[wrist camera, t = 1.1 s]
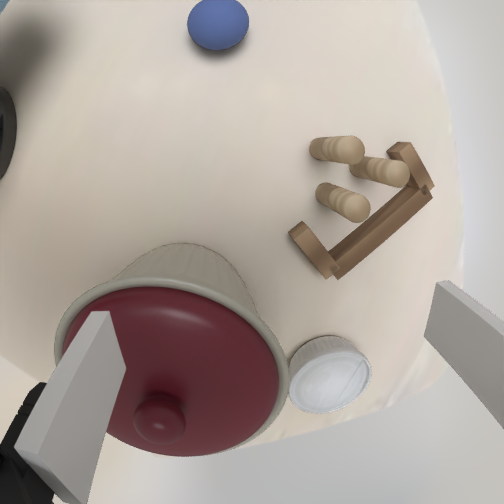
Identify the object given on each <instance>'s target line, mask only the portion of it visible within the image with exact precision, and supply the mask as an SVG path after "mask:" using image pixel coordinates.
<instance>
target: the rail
mask: <svg viewBox="0 0 504 504" xmlns="http://www.w3.org/2000/svg"><path fill="white" fill-rule="evenodd" d="M386 152H387V153H388V155H389V156H390V158H391V160H398V161H403V162H404V163H405V164H406V165H407V166H408V168H409V171H410V178H409V181H408V183H407V184H406V185H407V186H406V187H404V188H403V189H402V190H401V191H400V192H399V193H398V194H396V195H395V196H394V197H393V198H392V199H391V200H389V201H388V202H387V203H386V204H385V205H384V206H383V207H381V208H380V209H379V210H378V211H377V212H376V213H374V214H373V215H372V216H371V217H370V218H369V219H367V220H366V221H365V222H364V223H363V224H361V225H360V226H359V227H358V228H357V229H355V230H354V231H353V232H352V233H351V234H349V235H348V236H347V237H346V238H345V239H343V240H342V241H341V242H340V243H339V244H337V245H336V246H335V247H334V248H333V249H331V250H330V251H329V252H328V251H327V250H326V249H325V248H324V246H323V245H322V244H321V242H320V241H319V240H318V238H317V237H316V236H315V235H314V233H313V232H312V231H311V229H310V228H309V227H308V226H307V225H306V224H305V223H304V222H303V221H301V222H300V223H299V224H297V225H296V226H295V227H294V228H292V229H291V230H290V231H289V232H288V233H289V234H290V235H291V237H292V238H293V239H294V241H295V242H296V243H297V244H298V246H299V247H300V248H301V249H302V251H303V252H304V253H305V254H306V255H307V257H308V258H309V259H310V260H311V262H312V263H313V264H314V265H315V267H316V268H317V269H318V270H319V272H320V273H321V274H322V275H323V277H324V278H325V279H328V278H329V277H330V276H331V275H334V276H335V277H336V279H337V280H339V279H340V278H341V277H342V276H344V275H345V274H346V273H347V272H349V271H350V270H351V269H352V268H353V267H355V266H356V265H357V264H358V263H359V262H361V261H362V260H363V259H364V258H365V257H367V256H368V255H369V254H370V253H371V252H373V251H374V250H375V249H376V248H377V247H378V246H380V245H381V244H382V243H383V242H384V241H385V240H387V239H388V238H389V237H390V236H391V235H392V234H393V233H395V232H396V231H397V230H398V229H399V228H400V227H401V226H402V225H404V224H405V223H406V222H407V221H408V220H409V219H410V218H411V217H412V216H414V215H415V214H416V213H417V212H418V211H419V210H420V209H421V208H422V207H423V206H425V205H426V204H427V203H428V202H429V201H430V200H431V199H432V198H433V197H432V195H431V193H430V190H431V189H432V188H433V187H434V186H435V185H434V184H433V182H432V180H431V178H430V176H429V174H428V172H427V170H426V168H425V166H424V165H423V163H422V161H421V159H420V157H419V156H418V154H417V152H416V150H415V149H414V147H413V145H412V144H411V142H397V143H396V144H395V145H393V146H392V147H391V148H390V149H389V150H387V151H386Z"/></svg>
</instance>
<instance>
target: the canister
mask: <svg viewBox="0 0 504 504" xmlns="http://www.w3.org/2000/svg"><path fill="white" fill-rule="evenodd" d="M91 311H109V312H110V315H111V319H112V323H113V326H114V330H115V334H116V337H117V340H118V344H119V347H120V350H121V354H122V357H123V360H124V363H125V366H126V371H125V374H124V377H123V380H122V383H121V386H120V389H119V392H118V395H117V398H116V401H115V404H114V407H113V411H112V414H111V417H110V420H109V424H108V427H107V430H106V432H107V433H108V434H110V435H112V436H113V437H115V438H117V439H119V440H120V441H122V442H125V443H126V444H129V445H131V446H133V447H136V448H139V449H142V450H145V451H148V452H152V453H156V454H162V455H168V456H181V457H189V456H204V455H211V454H216V453H221V452H225V451H228V450H231V449H234V448H236V447H239V446H241V445H243V444H245V443H247V442H249V441H251V440H252V439H254V438H256V437H257V436H258V435H260V434H261V433H262V432H264V431H265V430H266V429H267V428H268V427H269V426H270V425H271V424H272V423H273V422H274V420H275V419H276V418H277V416H278V415H279V413H280V412H281V410H282V408H283V406H284V404H285V401H286V398H287V395H288V390H289V370H288V364H287V360H286V357H285V354H284V352H283V349H282V347H281V345H280V343H279V342H278V340H277V338H276V337H275V335H274V334H273V333H272V331H271V330H270V329H269V327H268V326H267V325H266V324H265V323H264V322H263V321H262V320H261V319H260V317H259V315H258V313H257V310H256V308H255V306H254V303H253V301H252V299H251V297H250V295H249V293H248V291H247V289H246V287H245V285H244V283H243V281H242V280H241V278H240V276H239V274H238V273H237V271H236V270H235V269H233V268H232V266H231V264H230V263H229V262H227V261H226V260H225V259H224V258H223V257H222V256H219V255H218V254H216V253H215V252H214V251H211V250H208V249H206V248H205V247H200V246H197V245H195V244H186V243H182V244H175V243H174V244H171V245H164V246H162V247H160V248H157V249H153V250H151V251H150V252H149V253H147V254H144V255H143V256H141V257H140V258H139V259H137V260H136V261H134V262H133V263H132V264H130V265H129V266H128V267H127V268H125V269H124V270H123V271H122V272H121V273H120V274H118V275H117V276H116V277H115V278H114V279H112V280H111V281H108V282H105V283H103V284H100V285H98V286H96V287H94V288H92V289H90V290H89V291H87V292H85V293H84V294H83V295H81V296H80V297H79V298H78V299H77V300H75V301H74V302H73V304H72V305H71V306H70V307H69V308H68V310H67V311H66V312H65V314H64V315H63V317H62V319H61V321H60V323H59V326H58V328H57V332H56V336H55V343H54V355H55V362H56V367H57V365H58V364H59V362H60V360H61V359H62V357H63V355H64V354H65V352H66V351H67V349H68V347H69V346H70V344H71V342H72V341H73V339H74V338H75V336H76V335H77V333H78V331H79V330H80V328H81V327H82V325H83V324H84V322H85V321H86V319H87V318H88V316H89V314H90V313H91Z"/></svg>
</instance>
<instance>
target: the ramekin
mask: <svg viewBox="0 0 504 504" xmlns="http://www.w3.org/2000/svg"><path fill="white" fill-rule="evenodd" d="M371 375H372V369H371V365H370V363H369V361H368V359H367V358H366V357H365V356H364V355H363V354H362V353H361V352H359V351H358V350H357V349H356V348H355V347H354V346H353V345H352V344H351V343H350V342H349V341H347V340H345V339H343V338H340V337H336V336H325V337H320V338H316V339H314V340H311V341H309V342H308V343H306V344H304V345H303V346H302V347H301V348H300V349H298V351H297V352H296V353H295V354H294V356H293V357H292V359H291V361H290V364H289V390H288V393H289V397H290V399H291V401H292V403H293V404H294V405H295V406H296V407H297V408H299V409H300V410H302V411H305V412H309V413H316V414H323V413H329V412H333V411H336V410H339V409H342V408H344V407H346V406H347V405H349V404H351V403H352V402H354V401H355V400H356V399H357V398H358V397H359V396H360V395H361V394H362V393H363V392H364V391H365V389H366V388H367V386H368V384H369V382H370V379H371Z"/></svg>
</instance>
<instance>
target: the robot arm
mask: <svg viewBox="0 0 504 504" xmlns="http://www.w3.org/2000/svg"><path fill="white" fill-rule="evenodd" d="M9 1H10V0H0V14H1V12H2V11H3V9H4V8H5V6H6V5H7V3H8V2H9ZM15 137H16V115H15V109H14V105H13V102H12V100H11V97H10V95H9V94H8V92H7V91H6V90H5V89H4V88H3V87H2V86H0V179H1V178H2V176H3V175H4V173H5V171H6V169H7V167H8V165H9V162H10V159H11V156H12V153H13V149H14V144H15ZM424 337H425V338H426V339H427V340H428V341H429V343H430V344H431V345H432V346H433V347H434V348H435V349H436V350H437V351H438V352H439V354H440V355H441V356H442V357H443V358H444V359H445V360H446V361H447V362H448V364H449V365H450V366H451V367H452V368H453V369H454V370H455V371H456V373H457V374H458V375H459V376H460V377H461V378H462V379H463V381H464V382H465V383H466V384H467V385H468V386H469V388H470V389H471V390H472V391H473V392H474V393H475V394H476V396H477V397H478V398H479V399H480V401H481V402H482V403H483V404H484V405H485V407H486V408H487V409H488V410H489V411H490V413H491V414H492V415H493V416H494V418H495V419H496V420H497V421H498V422H499V424H500V425H501V426H502V427H503V429H504V322H503V321H502V320H501V319H500V318H498V317H497V316H496V315H494V314H493V313H492V312H491V311H490V310H488V309H487V308H486V307H484V306H483V305H482V304H480V303H479V302H478V301H476V300H475V299H474V298H472V297H471V296H470V295H468V294H467V293H465V292H464V291H463V290H462V289H460V288H459V287H457V286H456V285H455V284H453V283H452V282H450V281H449V280H448V281H442V282H436V286H435V291H434V296H433V300H432V305H431V309H430V314H429V318H428V322H427V326H426V330H425V333H424ZM125 371H126V366H125V363H124V360H123V357H122V354H121V350H120V347H119V344H118V340H117V337H116V334H115V330H114V326H113V323H112V319H111V315H110V312H109V311H91V313H90V314H89V316H88V318H87V319H86V321H85V322H84V324H83V325H82V327H81V328H80V330H79V331H78V333H77V335H76V336H75V338H74V339H73V341H72V342H71V344H70V346H69V347H68V349H67V351H66V352H65V354H64V355H63V357H62V359H61V360H60V362H59V364H58V365H57V367H56V369H55V371H54V372H53V374H52V376H51V377H50V379H49V381H48V383H43V382H40V383H39V384H37V385H36V386H35V387H34V388H33V389H32V390H31V391H29V393H28V395H27V396H26V398H25V400H24V402H23V405H21V407H20V409H19V410H18V415H16V416H15V418H14V420H13V421H12V423H11V425H10V427H9V429H8V431H7V433H6V435H5V437H4V439H3V440H2V442H1V444H0V504H54V503H53V502H52V499H53V496H54V493H55V494H56V495H57V496H58V497H59V498H60V499H61V500H62V501H63V502H65V503H69V504H87V502H88V498H89V493H90V489H91V485H92V481H93V477H94V473H95V469H96V465H97V462H98V458H99V455H100V451H101V447H102V444H103V440H104V437H105V433H106V430H107V427H108V424H109V420H110V417H111V414H112V411H113V407H114V404H115V401H116V398H117V395H118V392H119V389H120V386H121V383H122V380H123V377H124V374H125Z"/></svg>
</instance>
